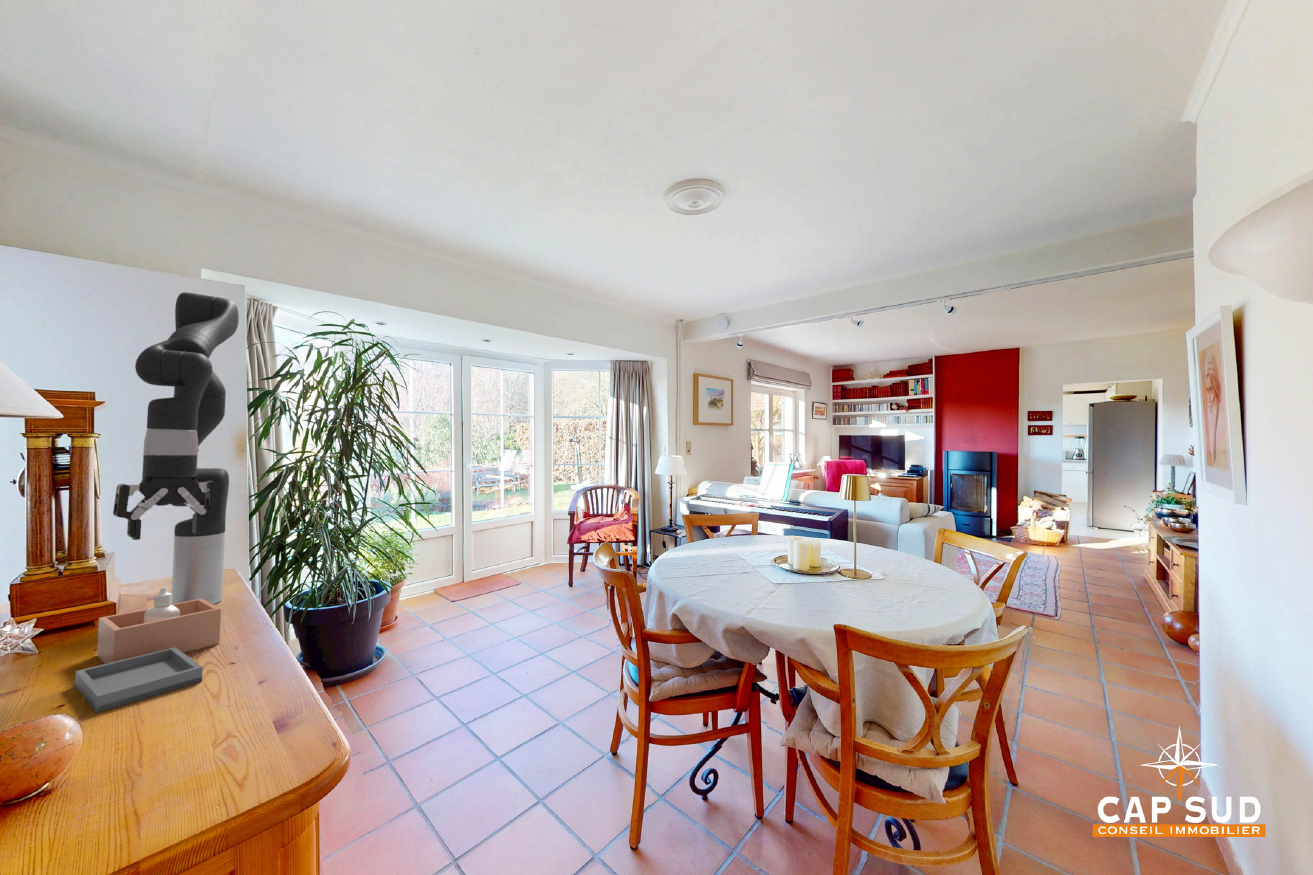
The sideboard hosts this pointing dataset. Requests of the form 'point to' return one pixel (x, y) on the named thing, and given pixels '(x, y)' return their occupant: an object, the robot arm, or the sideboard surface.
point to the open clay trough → (158, 631)
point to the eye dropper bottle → (161, 607)
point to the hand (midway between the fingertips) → (167, 536)
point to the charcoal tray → (136, 678)
